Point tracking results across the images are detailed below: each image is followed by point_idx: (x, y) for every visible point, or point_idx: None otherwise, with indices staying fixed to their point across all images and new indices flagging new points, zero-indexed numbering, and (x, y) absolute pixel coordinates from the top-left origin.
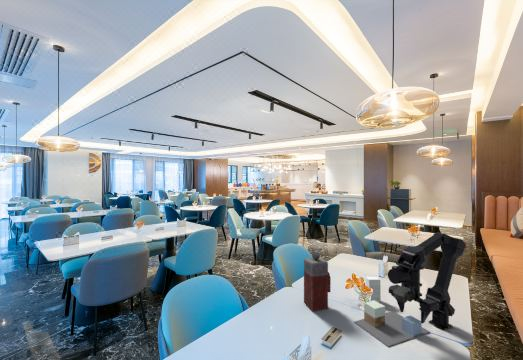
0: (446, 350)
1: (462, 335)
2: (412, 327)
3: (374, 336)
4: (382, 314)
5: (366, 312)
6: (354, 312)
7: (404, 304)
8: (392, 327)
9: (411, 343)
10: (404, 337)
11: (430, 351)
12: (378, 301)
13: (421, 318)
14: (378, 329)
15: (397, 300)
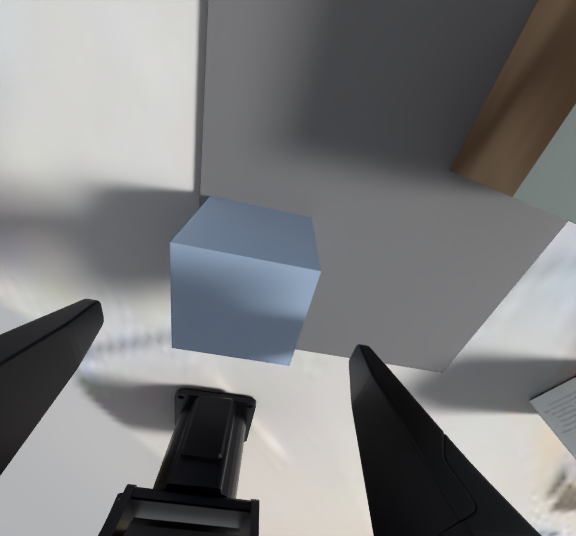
0: (15, 227)
1: (116, 402)
2: (193, 224)
3: None
4: (569, 148)
5: None
6: None
7: (362, 465)
8: (380, 180)
9: (160, 78)
10: (236, 106)
11: (18, 106)
12: (546, 400)
13: (26, 339)
14: None
15: (494, 515)
